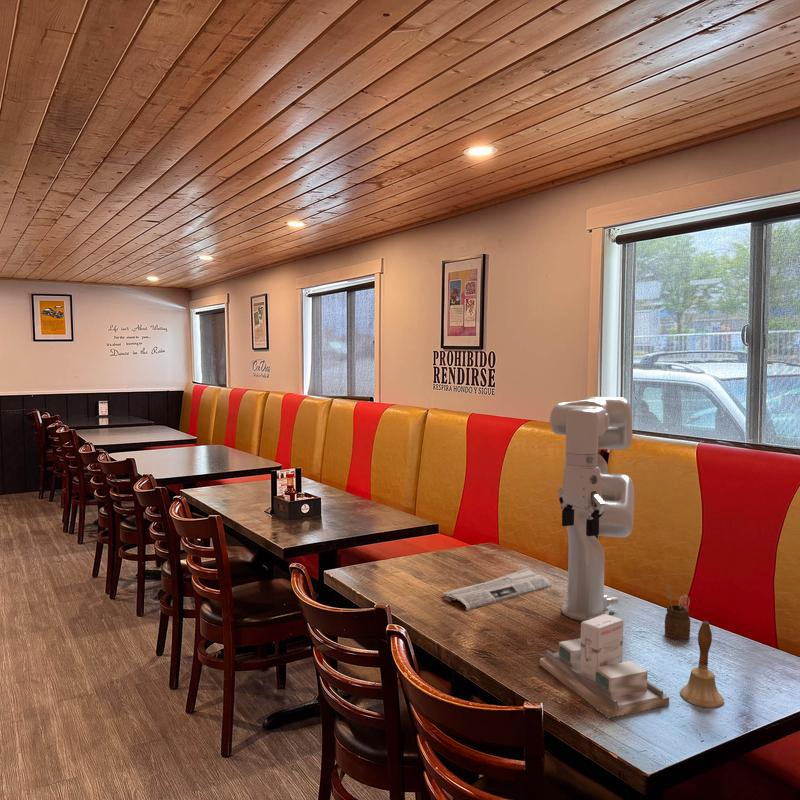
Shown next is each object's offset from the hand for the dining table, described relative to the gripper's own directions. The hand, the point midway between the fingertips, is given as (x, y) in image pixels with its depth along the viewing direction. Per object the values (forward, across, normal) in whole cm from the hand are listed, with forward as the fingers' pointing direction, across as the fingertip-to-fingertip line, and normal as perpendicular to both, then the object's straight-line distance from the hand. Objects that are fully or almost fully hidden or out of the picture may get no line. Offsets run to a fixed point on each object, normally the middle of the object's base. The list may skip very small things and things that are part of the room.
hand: (579, 530), depth 159 cm
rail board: (+28, -18, +7) cm, 34 cm away
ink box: (+26, -18, +7) cm, 33 cm away
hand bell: (+28, -30, -9) cm, 42 cm away
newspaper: (+29, +39, 0) cm, 49 cm away
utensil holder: (+28, -4, -27) cm, 39 cm away
